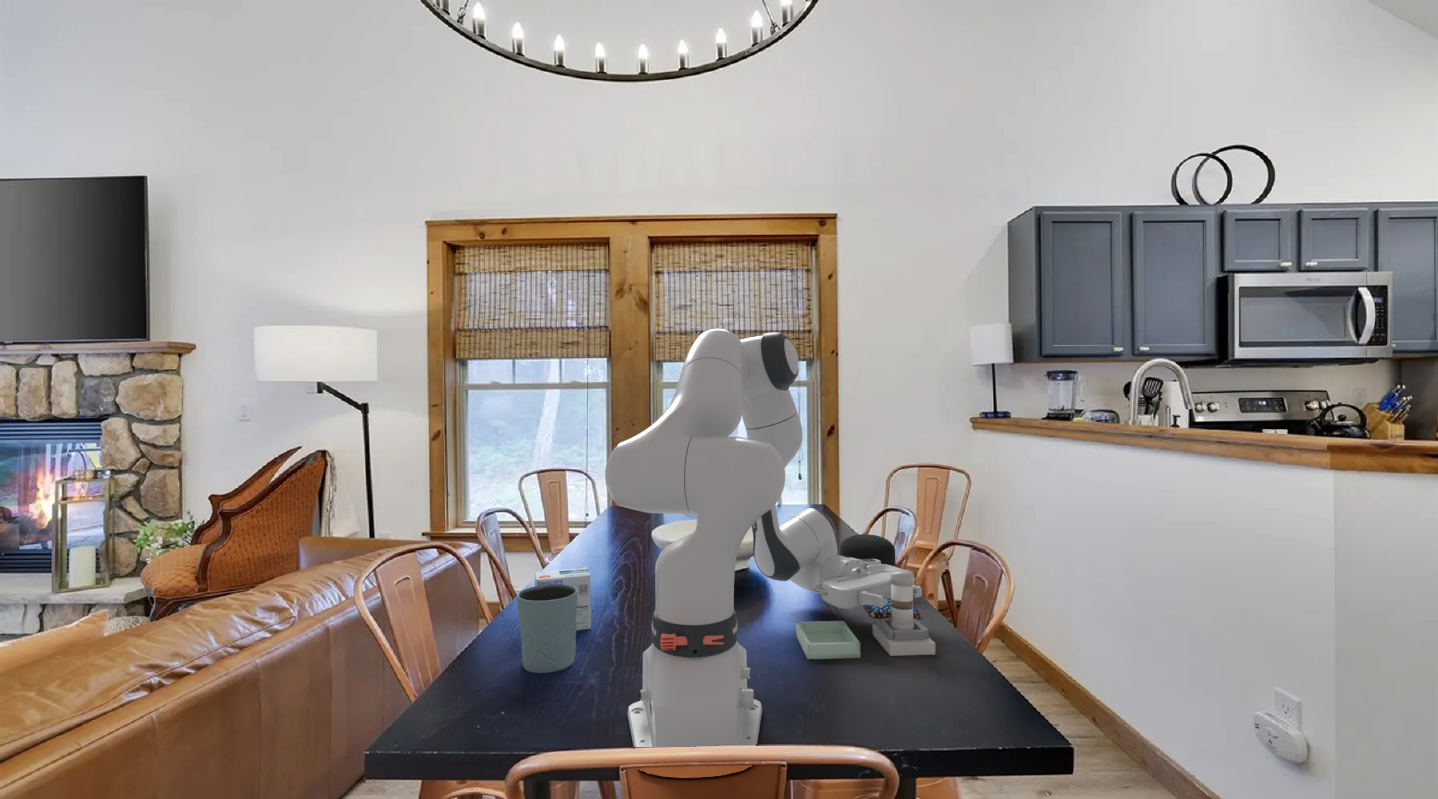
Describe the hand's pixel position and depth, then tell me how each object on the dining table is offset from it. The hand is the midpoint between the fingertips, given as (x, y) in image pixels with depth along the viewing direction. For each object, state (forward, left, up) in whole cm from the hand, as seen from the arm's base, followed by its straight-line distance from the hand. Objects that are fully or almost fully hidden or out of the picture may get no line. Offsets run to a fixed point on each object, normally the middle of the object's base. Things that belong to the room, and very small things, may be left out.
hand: (902, 597), depth 110 cm
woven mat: (+19, -4, -9) cm, 22 cm away
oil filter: (+35, -4, -9) cm, 36 cm away
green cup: (-4, +63, -9) cm, 64 cm away
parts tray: (0, +14, -9) cm, 16 cm away
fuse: (0, 0, -7) cm, 7 cm away
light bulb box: (+13, +64, -9) cm, 66 cm away
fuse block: (0, 0, -9) cm, 9 cm away
